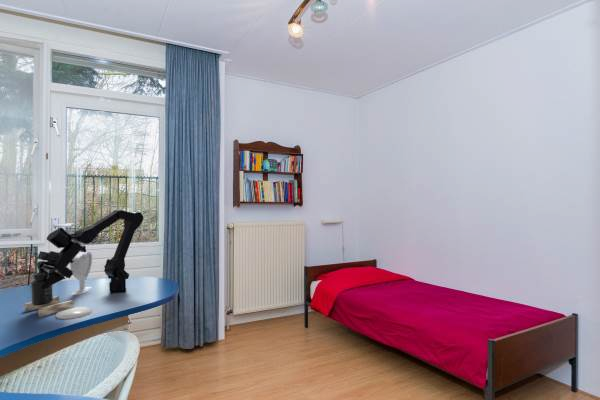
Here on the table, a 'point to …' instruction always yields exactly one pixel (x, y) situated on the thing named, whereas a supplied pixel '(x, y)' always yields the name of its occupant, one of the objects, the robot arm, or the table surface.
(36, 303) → the supplement bottle
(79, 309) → the pad
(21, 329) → the table surface
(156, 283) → the table surface
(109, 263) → the robot arm
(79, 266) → the heart sculpture
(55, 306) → the channel
